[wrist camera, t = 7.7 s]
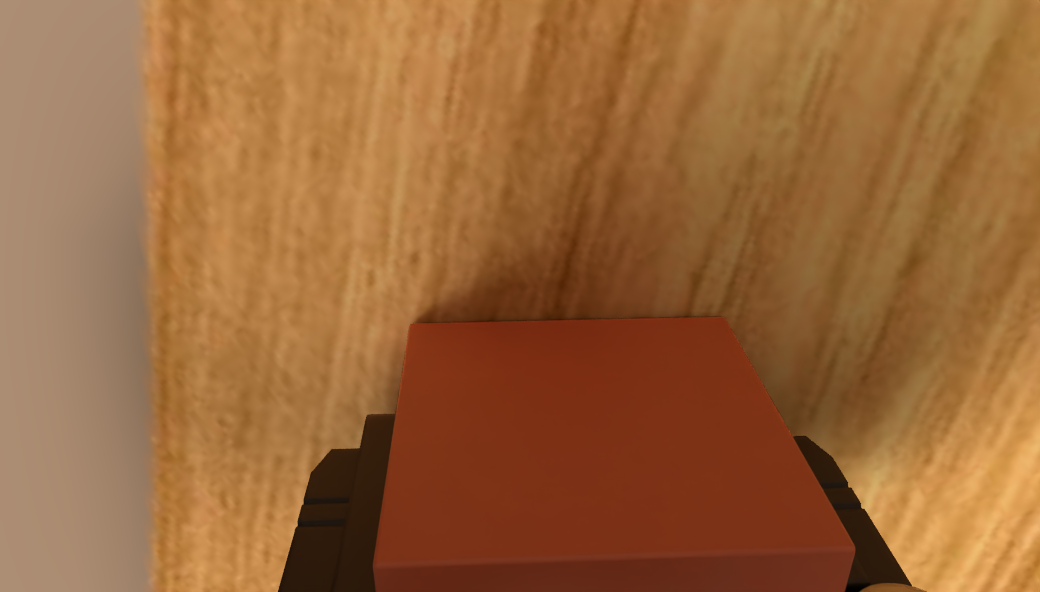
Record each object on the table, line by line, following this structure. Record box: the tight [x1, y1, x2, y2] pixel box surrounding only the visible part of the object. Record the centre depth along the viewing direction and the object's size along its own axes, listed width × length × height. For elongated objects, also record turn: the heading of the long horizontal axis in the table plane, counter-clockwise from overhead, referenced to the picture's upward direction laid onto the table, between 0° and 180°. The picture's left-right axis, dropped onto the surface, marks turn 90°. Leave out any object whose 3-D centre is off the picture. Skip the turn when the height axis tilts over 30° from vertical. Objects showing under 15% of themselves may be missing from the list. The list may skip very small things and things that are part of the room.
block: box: [373, 317, 855, 592], centre depth 11 cm, size 5×5×5 cm
